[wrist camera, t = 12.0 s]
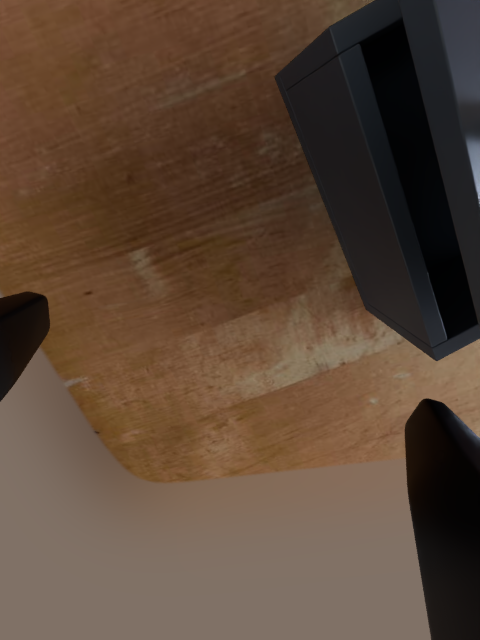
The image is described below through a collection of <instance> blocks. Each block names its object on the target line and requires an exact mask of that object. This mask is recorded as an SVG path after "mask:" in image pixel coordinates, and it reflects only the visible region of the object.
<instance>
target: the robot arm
mask: <svg viewBox="0 0 480 640" xmlns="http://www.w3.org/2000/svg"><path fill="white" fill-rule="evenodd" d="M49 328H50V319H49V308H48V300H47V298H46V297H45V296H44V295H41V294H37V293H33V292H23V293H19V294H15V295H11V296H7V297H3V298H0V401H1V400H2V399H3V398H4V397H5V395H6V394H7V393H8V391H9V390H10V389H11V388H12V387H13V385H14V384H15V382H16V381H17V380H18V378H19V377H20V375H21V374H22V372H23V371H24V369H25V368H26V366H27V364H28V363H29V361H30V360H31V358H32V357H33V355H34V354H35V352H36V351H37V349H38V348H39V346H40V345H41V343H42V342H43V340H44V338H45V337H46V335H47V334H48V331H49ZM405 448H406V467H407V468H406V470H407V487H408V497H409V504H410V510H411V516H412V522H413V529H414V535H415V541H416V547H417V554H418V560H419V566H420V572H421V578H422V584H423V591H424V597H425V603H426V609H427V616H428V622H429V628H430V634H431V640H480V438H479V437H478V436H477V435H476V434H475V433H474V432H473V431H472V430H471V429H470V428H469V427H468V426H466V425H465V424H464V423H463V422H462V421H461V420H460V419H459V418H458V417H457V416H456V415H455V414H454V413H453V412H452V411H451V410H450V409H449V408H448V407H447V406H446V405H445V404H444V403H442V402H439V401H435V400H431V399H423V400H422V401H421V402H420V403H419V404H418V406H417V407H416V409H415V410H414V412H413V413H412V415H411V416H410V417H409V419H408V420H407V423H406V425H405Z"/></svg>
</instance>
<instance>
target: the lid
mask: <svg viewBox="0 0 480 640" xmlns="http://www.w3.org/2000/svg"><path fill="white" fill-rule="evenodd" d="M398 2H399V6H400V10H401V14H402V18H403V22H404V26H405V30H406V34H407V38H408V42H409V46H410V50H411V54H412V58H413V62H414V66H415V70H416V74H417V78H418V82H419V86H420V91H421V95H422V99H423V103H424V107H425V111H426V115H427V119H428V123H429V127H430V131H431V135H432V139H433V143H434V147H435V151H436V155H437V159H438V163H439V167H440V171H441V175H442V179H443V183H444V187H445V191H446V195H447V199H448V203H449V207H450V211H451V215H452V219H453V223H454V227H455V231H456V235H457V239H458V243H459V248H460V252H461V256H462V260H463V264H464V268H465V272H466V276H467V280H468V284H469V288H470V292H471V296H472V300H473V304H474V308H475V312H476V316H477V320H478V324H479V328H480V0H398Z"/></svg>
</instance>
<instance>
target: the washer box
mask: <svg viewBox="0 0 480 640" xmlns="http://www.w3.org/2000/svg"><path fill="white" fill-rule="evenodd" d="M275 80H276V82H277V85H278V87H279V90H280V92H281V95H282V97H283V100H284V103H285V105H286V108H287V110H288V113H289V115H290V118H291V120H292V123H293V125H294V128H295V130H296V133H297V136H298V138H299V141H300V143H301V146H302V148H303V151H304V153H305V156H306V158H307V161H308V164H309V166H310V169H311V171H312V174H313V176H314V179H315V181H316V184H317V186H318V189H319V192H320V194H321V197H322V199H323V202H324V204H325V207H326V209H327V212H328V214H329V217H330V219H331V222H332V225H333V227H334V230H335V232H336V235H337V237H338V240H339V242H340V245H341V247H342V250H343V253H344V255H345V258H346V260H347V263H348V265H349V268H350V270H351V273H352V275H353V278H354V281H355V283H356V286H357V288H358V291H359V293H360V296H361V298H362V301H363V303H364V306H365V308H366V310H367V311H369V312H370V313H371V314H373V315H374V316H375V317H377V318H378V319H379V320H381V321H382V322H384V323H385V324H386V325H388V326H389V327H390V328H392V329H393V330H394V331H396V332H397V333H399V334H400V335H401V336H403V337H404V338H405V339H407V340H408V341H409V342H411V343H412V344H414V345H415V346H416V347H418V348H419V349H420V350H422V351H423V352H424V353H426V354H427V355H429V356H430V357H431V358H433V359H434V360H435V361H438V360H440V359H442V358H444V357H446V356H448V355H449V354H451V353H453V352H455V351H457V350H459V349H461V348H463V347H465V346H466V345H468V344H470V343H472V342H474V341H476V340H478V339H480V328H479V324H478V320H477V316H476V312H475V308H474V304H473V300H472V296H471V292H470V288H469V284H468V280H467V276H466V272H465V268H464V264H463V260H462V256H461V252H460V248H459V243H458V239H457V235H456V231H455V227H454V223H453V219H452V215H451V211H450V207H449V203H448V199H447V195H446V191H445V187H444V183H443V179H442V175H441V171H440V167H439V163H438V159H437V155H436V151H435V147H434V143H433V139H432V135H431V131H430V127H429V123H428V119H427V115H426V111H425V107H424V103H423V99H422V95H421V91H420V86H419V82H418V78H417V74H416V70H415V66H414V62H413V58H412V54H411V50H410V46H409V42H408V38H407V34H406V30H405V26H404V22H403V18H402V14H401V10H400V6H399V2H398V0H375V1H373V2H371V3H369V4H368V5H366V6H364V7H362V8H361V9H359V10H357V11H355V12H354V13H352V14H350V15H349V16H347V17H345V18H343V19H342V20H340V21H338V22H336V23H335V24H333V25H331V26H329V27H328V28H327V29H326V30H325V31H324V32H323V33H322V34H321V35H320V36H318V37H317V38H316V39H315V40H314V41H313V42H312V43H311V44H310V45H309V46H307V47H306V48H305V49H304V50H303V51H302V52H301V53H300V54H299V55H298V56H296V57H295V58H294V59H293V60H292V61H291V62H290V63H289V64H288V65H287V66H285V67H284V68H283V69H282V70H281V71H280V72H279V73H278V74H277V75H276V76H275Z"/></svg>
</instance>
